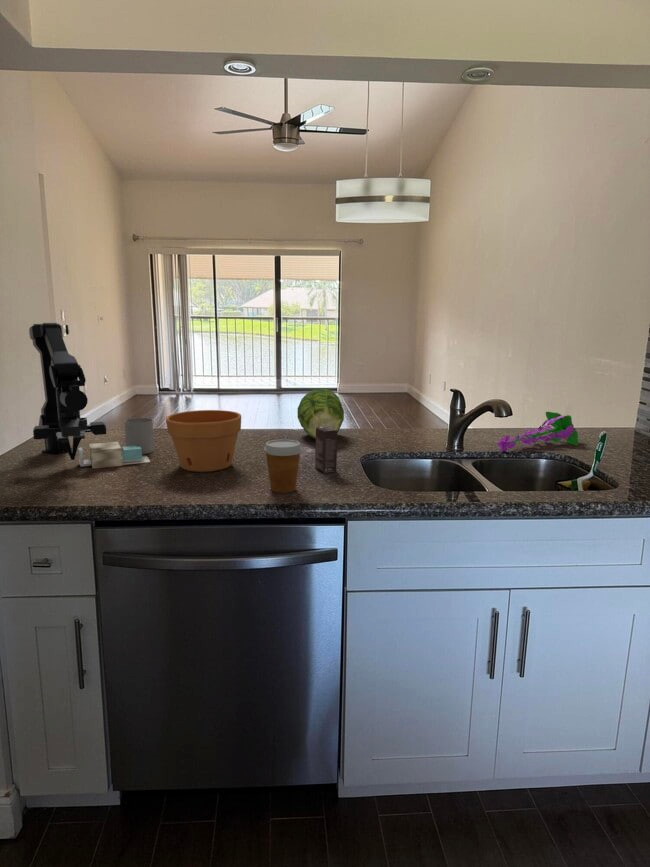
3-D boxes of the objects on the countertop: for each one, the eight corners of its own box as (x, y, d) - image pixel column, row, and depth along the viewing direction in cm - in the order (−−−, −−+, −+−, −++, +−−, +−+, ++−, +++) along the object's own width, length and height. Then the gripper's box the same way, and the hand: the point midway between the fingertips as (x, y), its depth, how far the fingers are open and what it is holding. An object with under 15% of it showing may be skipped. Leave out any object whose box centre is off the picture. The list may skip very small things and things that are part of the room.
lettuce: (321, 462, 198) (289, 429, 192) (316, 436, 219) (287, 405, 213) (359, 432, 195) (328, 398, 189) (350, 408, 216) (322, 376, 210)
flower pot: (153, 470, 164) (150, 419, 160) (194, 453, 183) (192, 407, 180) (219, 479, 157) (217, 425, 153) (254, 460, 176) (253, 412, 173)
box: (337, 471, 165) (338, 429, 163) (323, 473, 163) (323, 431, 161) (328, 466, 170) (328, 425, 168) (314, 467, 168) (314, 427, 166)
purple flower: (579, 453, 205) (512, 475, 187) (545, 423, 215) (479, 442, 197) (597, 427, 198) (530, 448, 179) (561, 397, 207) (494, 414, 189)
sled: (80, 466, 166) (79, 451, 165) (79, 462, 170) (78, 447, 169) (144, 460, 173) (143, 445, 172) (141, 456, 177) (140, 442, 176)
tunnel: (92, 468, 165) (91, 450, 164) (90, 461, 173) (89, 444, 172) (122, 465, 168) (121, 448, 167) (118, 458, 176) (117, 441, 175)
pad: (122, 464, 169) (122, 464, 169) (119, 459, 176) (119, 458, 175) (150, 462, 172) (150, 461, 172) (146, 456, 179) (146, 455, 179)
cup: (145, 455, 181) (144, 423, 178) (121, 453, 182) (119, 422, 180) (158, 448, 189) (157, 418, 186) (135, 447, 190) (133, 417, 188)
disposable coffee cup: (271, 496, 143) (271, 449, 140) (259, 485, 151) (259, 440, 149) (307, 492, 146) (307, 445, 144) (294, 481, 155) (294, 437, 152)
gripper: (30, 412, 152) (35, 470, 156) (106, 408, 160) (109, 463, 163) (31, 406, 162) (36, 460, 165) (102, 402, 170) (106, 454, 173)
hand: (72, 459), depth 167 cm, fingers closed
